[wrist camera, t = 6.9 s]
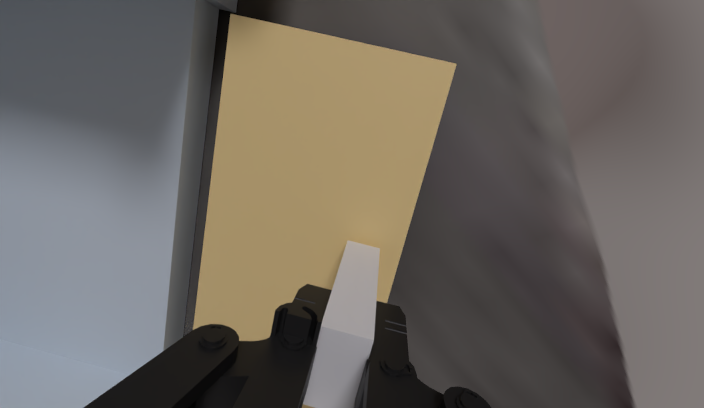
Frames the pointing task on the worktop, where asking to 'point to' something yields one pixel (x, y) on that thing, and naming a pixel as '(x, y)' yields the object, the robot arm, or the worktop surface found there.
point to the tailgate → (310, 166)
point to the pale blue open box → (97, 187)
